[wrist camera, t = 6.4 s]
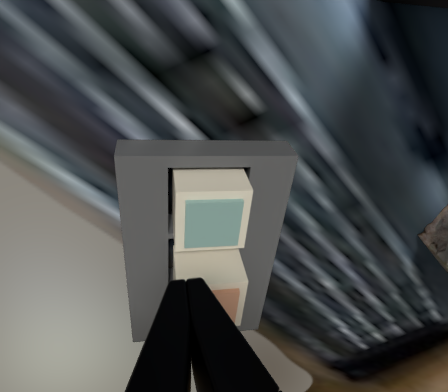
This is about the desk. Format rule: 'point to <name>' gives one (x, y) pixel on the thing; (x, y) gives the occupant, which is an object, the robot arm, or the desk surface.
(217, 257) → the key
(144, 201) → the keypad base
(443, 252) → the geological specimen
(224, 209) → the key
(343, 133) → the desk surface
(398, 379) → the desk surface
